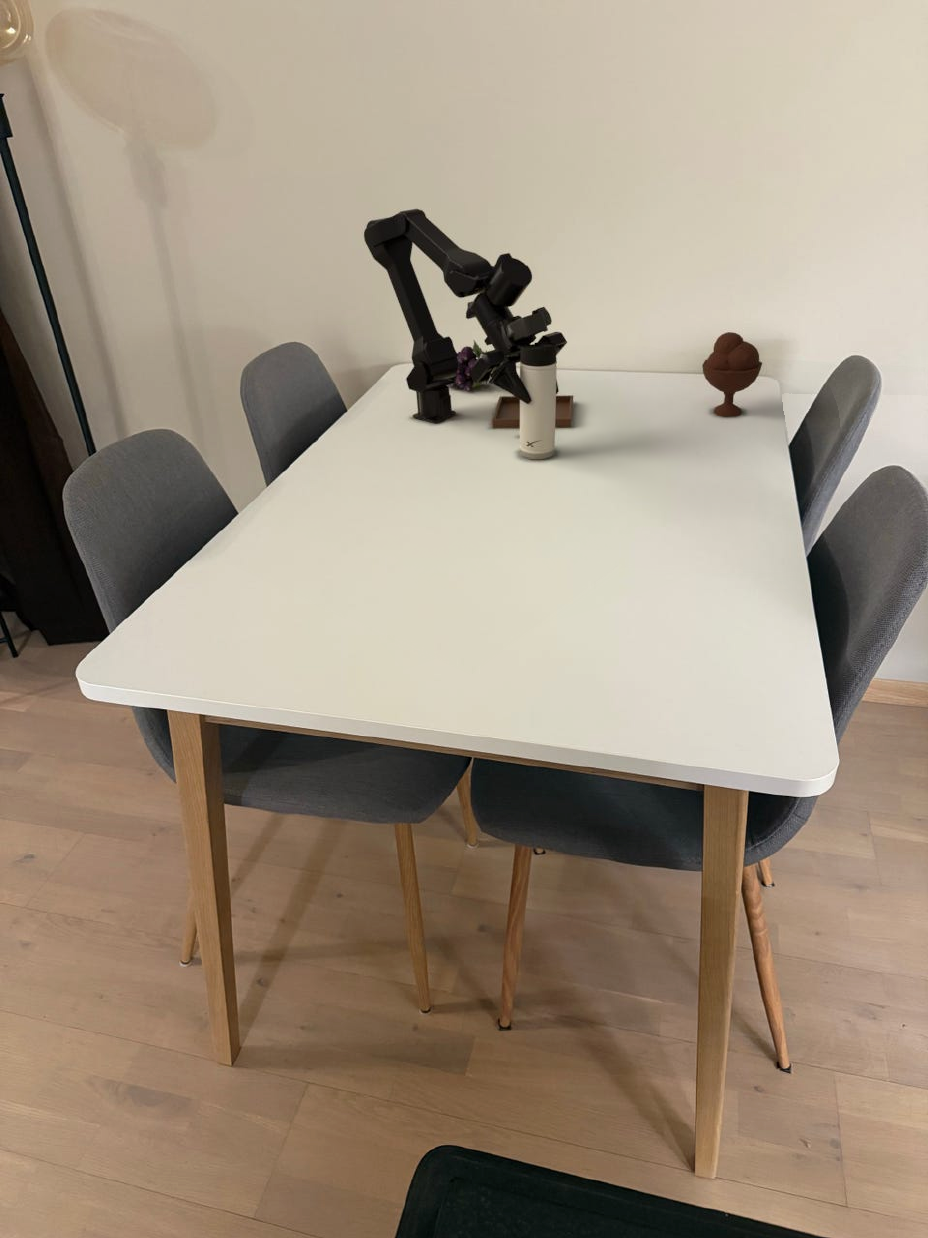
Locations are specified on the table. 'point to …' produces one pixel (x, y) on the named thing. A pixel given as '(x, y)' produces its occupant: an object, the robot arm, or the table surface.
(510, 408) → the serving tray
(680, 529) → the table surface
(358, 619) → the table surface
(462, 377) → the fruit
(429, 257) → the robot arm
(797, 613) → the table surface
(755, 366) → the ice cream bowl
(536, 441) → the travel mug
